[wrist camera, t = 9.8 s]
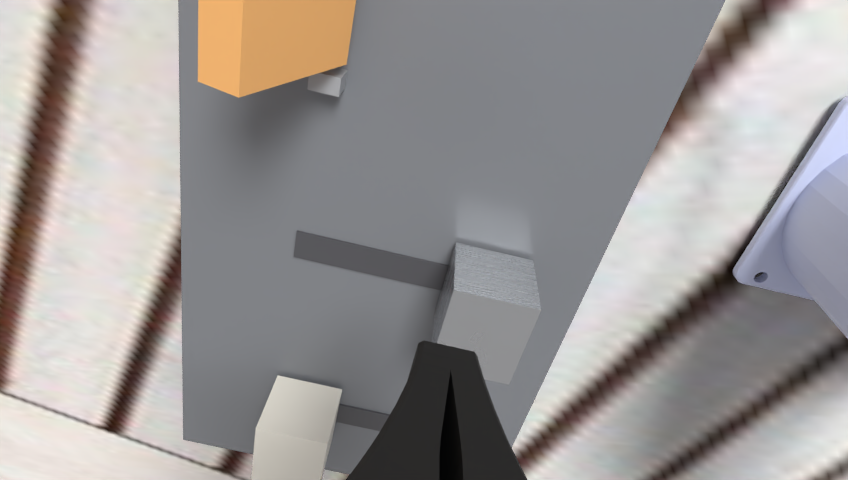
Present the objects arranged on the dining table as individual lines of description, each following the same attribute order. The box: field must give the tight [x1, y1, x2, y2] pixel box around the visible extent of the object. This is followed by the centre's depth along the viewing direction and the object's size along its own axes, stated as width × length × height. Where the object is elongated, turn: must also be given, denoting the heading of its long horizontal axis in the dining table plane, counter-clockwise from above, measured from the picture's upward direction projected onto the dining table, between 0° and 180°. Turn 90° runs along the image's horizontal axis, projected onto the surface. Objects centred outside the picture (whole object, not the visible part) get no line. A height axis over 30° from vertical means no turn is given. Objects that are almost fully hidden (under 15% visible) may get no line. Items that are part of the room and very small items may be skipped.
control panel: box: [179, 0, 725, 474], centre depth 22 cm, size 16×27×3 cm, turn 167°
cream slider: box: [251, 375, 342, 480], centre depth 25 cm, size 3×4×3 cm
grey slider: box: [432, 243, 541, 385], centre depth 21 cm, size 3×4×3 cm
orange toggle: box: [198, 0, 356, 98], centre depth 14 cm, size 1×3×5 cm, turn 167°
